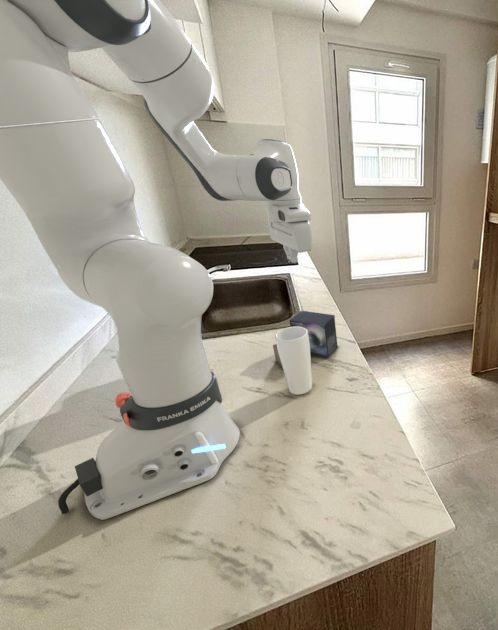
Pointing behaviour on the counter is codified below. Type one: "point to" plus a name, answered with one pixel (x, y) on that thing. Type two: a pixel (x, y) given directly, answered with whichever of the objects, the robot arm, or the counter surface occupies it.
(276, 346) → the walnut block
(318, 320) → the small box
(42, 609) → the counter surface
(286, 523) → the counter surface
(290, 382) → the drinking glass
